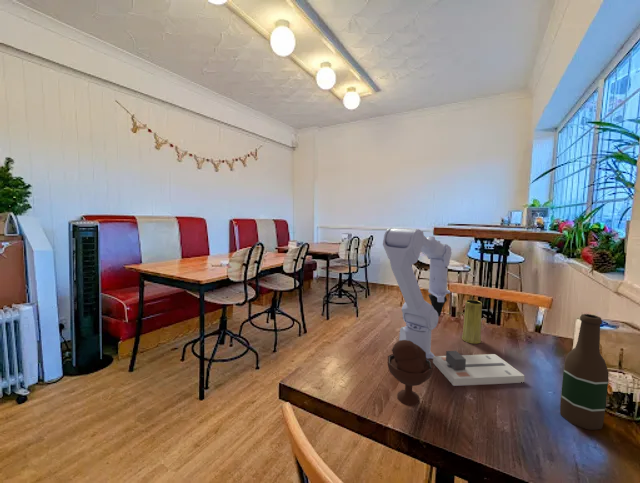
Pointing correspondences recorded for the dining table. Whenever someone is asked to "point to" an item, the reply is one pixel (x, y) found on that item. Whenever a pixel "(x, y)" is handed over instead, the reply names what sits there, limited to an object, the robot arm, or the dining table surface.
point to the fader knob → (455, 360)
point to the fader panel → (479, 370)
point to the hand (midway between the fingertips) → (436, 315)
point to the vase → (472, 322)
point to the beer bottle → (585, 378)
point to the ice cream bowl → (409, 369)
